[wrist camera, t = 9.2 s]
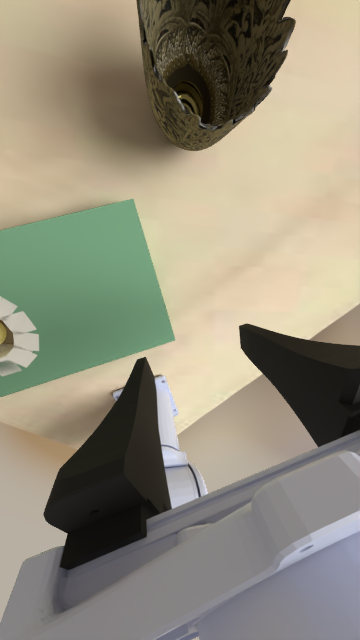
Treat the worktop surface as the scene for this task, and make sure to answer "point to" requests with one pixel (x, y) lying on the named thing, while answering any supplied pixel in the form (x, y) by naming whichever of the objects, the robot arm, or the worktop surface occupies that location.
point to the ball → (2, 333)
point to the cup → (210, 63)
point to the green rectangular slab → (77, 295)
